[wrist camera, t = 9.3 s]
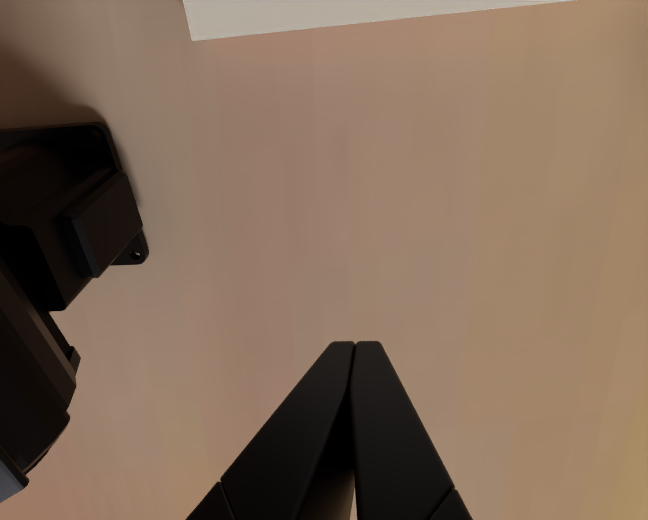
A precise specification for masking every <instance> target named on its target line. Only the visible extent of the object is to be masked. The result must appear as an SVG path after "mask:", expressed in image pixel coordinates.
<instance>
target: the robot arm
mask: <svg viewBox="0 0 648 520" xmlns="http://www.w3.org/2000/svg"><path fill="white" fill-rule="evenodd" d="M93 131H96V132H97V133H99V135H100V138H101V140H98V139H97V138H95V136H94V135H93ZM142 227H143V223H142V220H141V217H140V214H139V211H138V208H137V205H136V202H135V199H134V195H133V192H132V189H131V186H130V183H129V180H128V177H127V175H126V174H125V173H124V172H123V170H122V167H121V164H120V161H119V157H118V154H117V151H116V148H115V145H114V142H113V139H112V136H111V133H110V131H109V129H108V128H107V127H106V126H105V125H104V124H102V123H100V122H86V123H74V124H62V125H50V126H38V127H26V128H14V129H2V130H0V503H1V502H2V501H4V500H6V499H8V498H9V497H11V496H13V495H14V494H16V493H18V492H19V491H21V490H22V489H24V488H25V487H26V486H27V485H28V483H29V479H28V478H27V476H26V474H27V473H28V472H29V471H30V470H32V469H33V468H34V467H35V466H36V465H37V464H38V463H39V462H40V461H41V459H42V458H43V457H44V456H45V455H46V454H47V452H48V451H49V449H50V448H51V447H52V445H53V444H54V443H55V442H56V441H57V439H58V438H59V437H60V435H61V434H62V433H63V431H64V430H65V429H66V427H67V425H68V423H69V421H70V415H69V414H68V412H67V411H66V410H67V409H68V407H69V404H70V402H71V399H72V396H73V394H74V391H75V389H76V378H75V376H76V373H77V369H78V366H79V363H80V359H81V357H80V356H79V354H78V352H77V351H76V349H75V348H74V347H73V346H70V345H69V344H68V342H67V341H66V339H65V337H64V336H63V334H62V333H61V331H60V330H59V328H58V326H57V325H56V323H55V322H54V320H53V318H52V317H51V315H50V314H49V313H50V312H51V311H63V310H65V309H66V308H67V307H68V305H69V304H70V303H71V302H72V301H73V300H74V299H75V298H76V296H77V295H78V294H79V293H80V292H81V291H82V290H83V289H84V287H85V286H86V285H87V284H88V283H89V282H90V281H91V280H92V278H98V277H100V276H101V275H102V273H103V272H104V271H105V270H106V269H107V268H108V267H109V266H110V265H137V264H142V263H143V262H144V261H145V260H146V259H147V257H148V255H149V250H148V247H147V244H146V241H145V237H144V234H143V231H142ZM133 250H135V251H137V252H139V254H140V255H137V254H135V253H134V251H133ZM220 481H221V482H217V483H216V484H215V485H214V486H213V488H212V489H211V490H210V491H209V492H208V494H207V495H206V496H205V497H204V499H203V500H202V501H201V502H200V503H199V504H198V506H197V507H196V508H195V509H194V510H193V511H192V513H191V514H190V515H189V516H188V517H187V518H186V520H350V513H351V507H352V501H353V494H354V488H355V494H356V508H357V520H473V519H472V517H471V515H470V514H469V512H468V510H467V508H466V506H465V504H464V502H463V500H462V498H461V496H460V494H459V493H458V491H457V490H456V489H455V486H454V483H453V482H452V480H451V478H450V476H449V474H448V472H447V470H446V468H445V466H444V464H443V462H442V460H441V458H440V456H439V455H438V453H437V451H436V449H435V447H434V445H433V443H432V441H431V439H430V437H429V435H428V433H427V431H426V429H425V427H424V426H423V424H422V422H421V420H420V418H419V416H418V414H417V412H416V410H415V408H414V406H413V404H412V402H411V400H410V399H409V397H408V395H407V393H406V391H405V389H404V387H403V385H402V383H401V381H400V379H399V377H398V375H397V373H396V371H395V370H394V368H393V366H392V364H391V362H390V360H389V358H388V356H387V354H386V352H385V350H384V348H383V346H382V345H381V343H380V342H378V341H359V342H357V343H356V345H355V343H354V342H353V341H335V342H332V343H330V344H329V346H328V347H327V348H326V349H325V351H324V352H323V353H322V354H321V355H320V357H319V358H318V359H317V360H316V362H315V363H314V364H313V365H312V366H311V368H310V369H309V370H308V371H307V373H306V374H305V375H304V376H303V378H302V379H301V380H300V381H299V382H298V384H297V385H296V386H295V387H294V389H293V390H292V391H291V392H290V393H289V395H288V396H287V397H286V398H285V400H284V401H283V402H282V403H281V404H280V406H279V407H278V408H277V409H276V411H275V412H274V413H273V414H272V416H271V417H270V418H269V419H268V420H267V422H266V423H265V424H264V425H263V427H262V428H261V429H260V430H259V431H258V433H257V434H256V435H255V436H254V438H253V439H252V440H251V441H250V442H249V444H248V445H247V446H246V447H245V449H244V450H243V451H242V452H241V454H240V455H239V456H238V457H237V458H236V460H235V461H234V462H233V463H232V465H231V466H230V467H229V468H228V469H227V471H226V472H225V473H224V474H223V476H222V477H221V479H220Z"/></svg>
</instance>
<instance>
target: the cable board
mask: <svg viewBox="0 0 648 520" xmlns="http://www.w3.org/2000/svg"><path fill="white" fill-rule="evenodd" d="M563 1H572V0H183V3H184V7H185V12H186V16H187V21H188V25H189V30H190V34H191V39H192V41H197V40H206V39H215V38H225V37H234V36H244V35H253V34H262V33H272V32H281V31H290V30H300V29H309V28H319V27H328V26H337V25H347V24H356V23H366V22H375V21H384V20H394V19H403V18H412V17H422V16H431V15H441V14H450V13H459V12H469V11H478V10H488V9H497V8H506V7H516V6H525V5H535V4H544V3H553V2H563Z"/></svg>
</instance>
